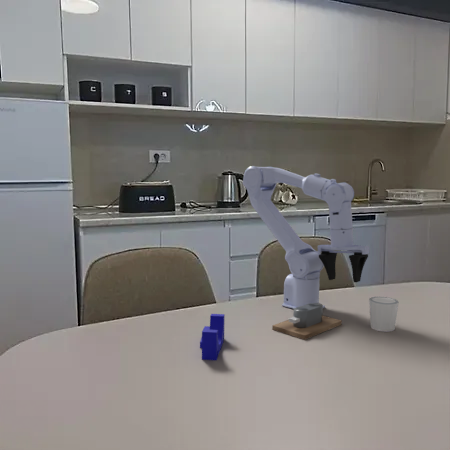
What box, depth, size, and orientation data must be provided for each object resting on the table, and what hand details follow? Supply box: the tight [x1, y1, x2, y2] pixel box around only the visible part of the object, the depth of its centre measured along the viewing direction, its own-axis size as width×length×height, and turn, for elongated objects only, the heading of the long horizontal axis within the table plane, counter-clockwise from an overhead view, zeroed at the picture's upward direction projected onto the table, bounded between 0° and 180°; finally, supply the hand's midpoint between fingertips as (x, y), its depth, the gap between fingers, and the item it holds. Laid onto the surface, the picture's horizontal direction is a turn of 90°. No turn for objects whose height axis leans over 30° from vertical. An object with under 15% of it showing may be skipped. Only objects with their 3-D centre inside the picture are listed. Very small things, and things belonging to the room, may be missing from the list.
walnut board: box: [271, 314, 343, 341], centre depth 113 cm, size 10×16×1 cm, turn 134°
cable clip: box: [199, 313, 226, 361], centre depth 99 cm, size 12×4×6 cm, turn 173°
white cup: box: [368, 296, 399, 333], centre depth 113 cm, size 7×7×7 cm
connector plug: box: [288, 302, 324, 328], centre depth 112 cm, size 4×11×4 cm, turn 134°
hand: (344, 280), depth 121 cm, fingers open, 7 cm apart
